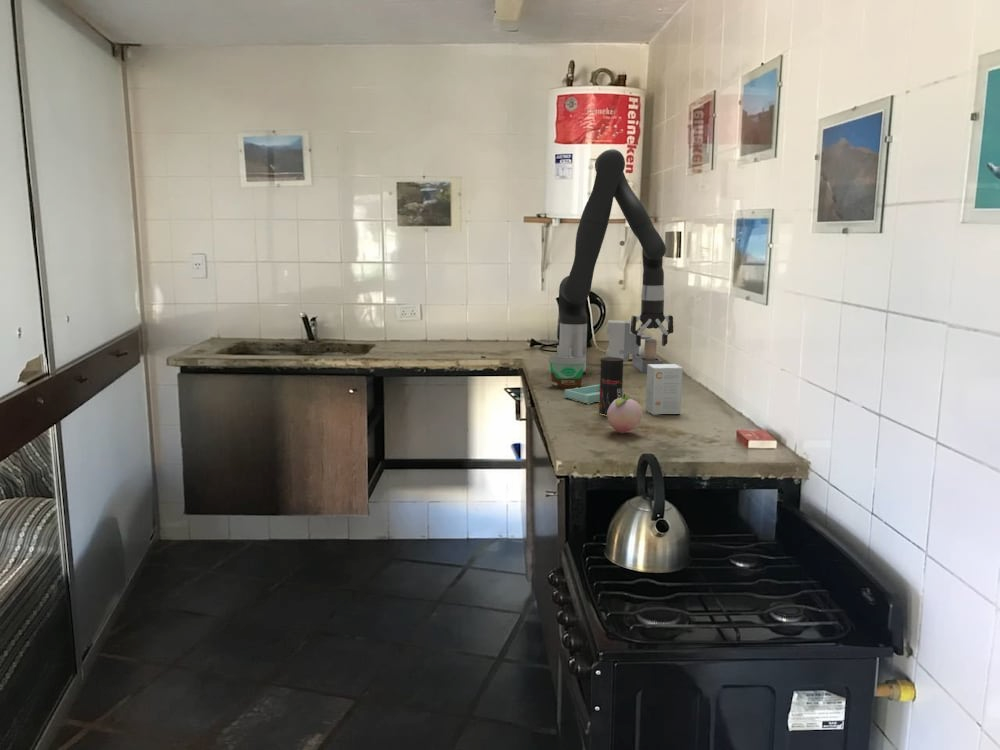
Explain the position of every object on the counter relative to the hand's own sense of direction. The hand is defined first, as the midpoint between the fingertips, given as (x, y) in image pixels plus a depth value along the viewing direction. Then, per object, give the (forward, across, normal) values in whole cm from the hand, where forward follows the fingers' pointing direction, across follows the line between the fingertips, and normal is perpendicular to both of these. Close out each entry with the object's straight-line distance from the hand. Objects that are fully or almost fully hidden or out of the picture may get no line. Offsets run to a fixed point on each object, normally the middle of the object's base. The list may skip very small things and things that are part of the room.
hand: (651, 345), depth 273 cm
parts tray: (+9, -26, -40) cm, 49 cm away
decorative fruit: (+9, -26, -80) cm, 85 cm away
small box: (+10, -11, -58) cm, 60 cm away
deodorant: (+9, -25, -60) cm, 66 cm away
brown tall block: (+8, 0, 0) cm, 9 cm away
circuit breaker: (+10, -4, +23) cm, 25 cm away
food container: (+9, -32, -24) cm, 41 cm away
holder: (+10, 0, +4) cm, 10 cm away
